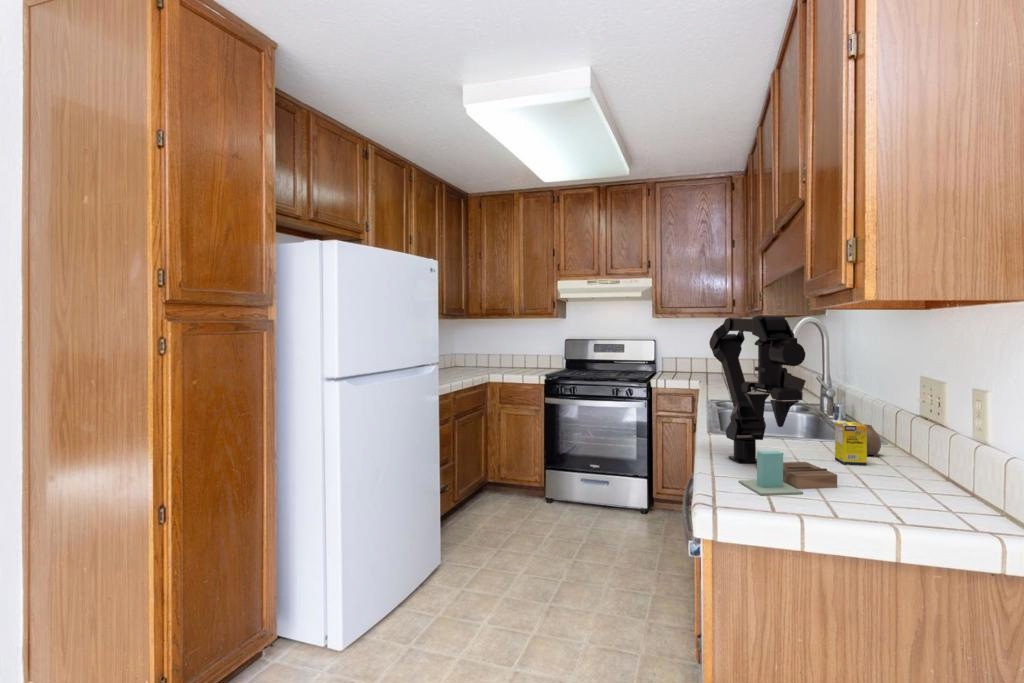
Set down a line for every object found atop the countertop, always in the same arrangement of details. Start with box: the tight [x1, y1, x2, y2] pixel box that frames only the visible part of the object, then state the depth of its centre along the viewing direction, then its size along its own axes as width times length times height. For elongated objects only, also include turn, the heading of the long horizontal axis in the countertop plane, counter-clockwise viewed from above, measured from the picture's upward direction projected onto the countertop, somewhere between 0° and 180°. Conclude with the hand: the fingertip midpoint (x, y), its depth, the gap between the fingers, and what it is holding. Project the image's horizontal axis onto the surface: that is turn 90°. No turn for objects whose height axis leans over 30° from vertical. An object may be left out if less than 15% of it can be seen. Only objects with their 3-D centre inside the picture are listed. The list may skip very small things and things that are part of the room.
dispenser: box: [783, 461, 838, 490], centre depth 129 cm, size 12×10×3 cm
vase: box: [862, 423, 882, 456], centre depth 155 cm, size 7×7×9 cm
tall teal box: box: [756, 450, 784, 488], centre depth 124 cm, size 2×5×8 cm, turn 94°
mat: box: [738, 479, 804, 496], centre depth 124 cm, size 10×10×1 cm
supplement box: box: [834, 421, 868, 466], centre depth 146 cm, size 6×6×11 cm
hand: (770, 423), depth 136 cm, fingers open, 9 cm apart
